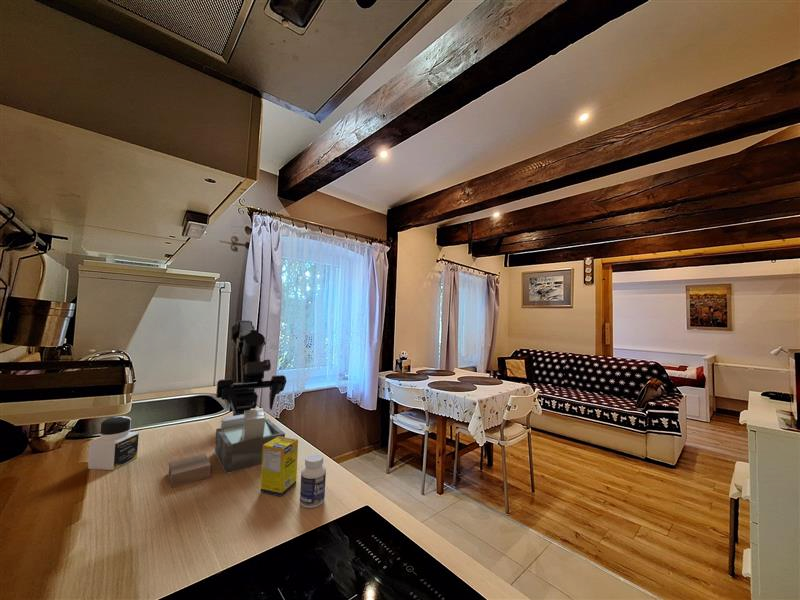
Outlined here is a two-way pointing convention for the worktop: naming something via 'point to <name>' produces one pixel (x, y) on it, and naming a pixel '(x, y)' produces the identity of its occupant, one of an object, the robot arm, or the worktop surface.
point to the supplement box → (279, 465)
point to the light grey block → (253, 424)
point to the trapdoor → (237, 428)
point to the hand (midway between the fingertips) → (254, 411)
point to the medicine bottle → (113, 445)
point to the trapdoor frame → (242, 449)
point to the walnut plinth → (189, 470)
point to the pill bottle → (313, 481)
